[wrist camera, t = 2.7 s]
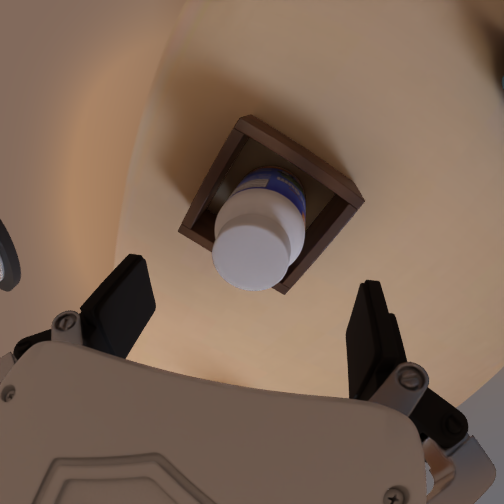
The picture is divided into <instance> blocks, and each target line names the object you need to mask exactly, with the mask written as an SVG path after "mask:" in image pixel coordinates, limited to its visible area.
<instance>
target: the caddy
mask: <svg viewBox="0 0 504 504" xmlns="http://www.w3.org/2000/svg"><path fill="white" fill-rule="evenodd" d="M249 137H250V138H252V139H254V140H255V141H257V142H259V143H260V144H262V145H264V146H265V147H267V148H268V149H270V150H272V151H273V152H275V153H276V154H278V155H280V156H281V157H283V158H284V159H286V160H287V161H289V162H291V163H292V164H294V165H295V166H297V167H298V168H300V169H301V170H303V171H304V172H306V173H307V174H309V175H310V176H312V177H313V178H315V179H316V180H317V181H319V182H320V183H322V184H323V185H325V186H326V187H327V188H329V189H330V190H332V191H333V192H335V193H336V194H335V195H334V197H333V198H332V199H331V201H330V202H329V203H328V204H327V206H326V207H325V208H324V210H323V211H322V212H321V213H320V215H319V216H318V217H317V218H316V220H315V221H314V222H313V224H312V225H311V226H310V227H309V229H308V230H307V231H306V232H305V238H304V244H303V248H302V250H301V252H300V254H299V256H298V257H297V259H296V260H295V261H294V262H293V263H292V264H291V265H290V266H288V269H287V272H286V274H285V276H284V277H283V279H282V280H281V281H280V282H279V283H277V284H276V285H274V286H273V287H272V288H273V289H275V290H277V291H279V292H280V293H282V294H284V295H285V294H286V293H287V292H288V291H289V290H290V288H291V287H292V286H293V285H294V284H295V283H296V282H297V281H298V280H299V278H300V277H301V276H302V275H303V274H304V273H305V272H306V271H307V269H308V268H309V267H310V266H311V265H312V264H313V263H314V261H315V260H316V259H317V258H318V257H319V256H320V255H321V253H322V252H323V251H324V250H325V249H326V248H327V246H328V245H329V244H330V243H331V242H332V241H333V239H334V238H335V237H336V236H337V235H338V233H339V232H340V231H341V230H342V229H343V228H344V226H345V225H346V224H347V223H348V222H349V220H350V219H351V218H352V217H353V215H354V214H355V213H356V212H357V211H358V210H357V209H359V208H360V207H361V206H362V204H363V203H364V202H365V200H364V198H363V197H362V195H361V193H360V191H359V190H358V188H357V186H356V184H355V183H354V182H352V181H351V180H350V179H348V178H347V177H346V176H344V175H343V174H342V173H340V172H339V171H337V170H336V169H335V168H333V167H332V166H330V165H329V164H328V163H326V162H325V161H323V160H322V159H320V158H319V157H318V156H316V155H315V154H313V153H312V152H310V151H309V150H307V149H306V148H304V147H303V146H301V145H300V144H298V143H297V142H295V141H294V140H292V139H290V138H289V137H287V136H286V135H284V134H283V133H281V132H279V131H278V130H276V129H274V128H273V127H271V126H270V125H268V124H266V123H265V122H263V121H261V120H259V119H258V118H256V117H254V116H253V115H248V116H244V117H241V118H239V120H238V122H237V123H236V125H235V127H234V128H233V130H232V132H231V133H230V135H229V137H228V138H227V140H226V142H225V143H224V145H223V147H222V149H221V150H220V152H219V154H218V156H217V158H216V159H215V161H214V163H213V165H212V166H211V168H210V170H209V172H208V174H207V176H206V177H205V179H204V181H203V183H202V185H201V187H200V189H199V191H198V192H197V194H196V196H195V198H194V200H193V202H192V204H191V206H190V208H189V210H188V212H187V214H186V216H185V218H184V220H183V222H182V224H181V226H180V228H179V230H178V232H179V233H181V234H183V235H184V236H186V237H187V238H189V239H191V240H192V241H194V242H196V243H197V244H199V245H201V246H202V247H204V248H206V249H207V250H209V251H211V252H212V248H213V244H214V242H215V240H216V239H215V230H214V229H215V221H216V218H217V215H215V214H213V213H212V212H210V211H209V210H207V208H208V206H209V204H210V202H211V200H212V199H213V197H214V195H215V193H216V192H217V190H218V188H219V186H220V185H221V183H222V181H223V179H224V178H225V176H226V174H227V173H228V171H229V169H230V167H231V166H232V164H233V162H234V161H235V159H236V157H237V156H238V154H239V152H240V151H241V149H242V147H243V146H244V144H245V143H246V141H247V139H248V138H249Z"/></svg>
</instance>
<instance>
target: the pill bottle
mask: <svg viewBox="0 0 504 504" xmlns="http://www.w3.org/2000/svg"><path fill="white" fill-rule="evenodd" d="M305 213H306V197H305V192H304V188H303V186H302V184H301V182H300V181H299V179H298V178H297V177H296V176H295V175H294V174H293V173H291V172H290V171H288V170H286V169H284V168H281V167H277V166H264V167H260V168H257V169H255V170H253V171H251V172H250V173H249V174H247V175H246V176H245V177H244V178H243V179H242V181H241V182H240V183H239V185H238V186H237V187H236V189H235V190H234V191H233V193H232V194H231V195H230V197H229V198H228V199H227V201H226V202H225V203H224V205H223V206H222V208H221V209H220V211H219V213H218V215H217V218H216V221H215V229H214V230H215V239H216V240H215V242H214V244H213V248H212V258H213V263H214V265H215V268H216V269H217V271H218V273H219V274H220V275H221V277H222V278H223V279H224V280H226V281H227V282H228V283H230V284H231V285H233V286H235V287H237V288H240V289H243V290H249V291H260V290H265V289H268V288H271V287H273V286H274V285H276V284H277V283H279V282H280V281H281V280H282V279H283V277H284V276H285V274H286V272H287V269H288V266H290V265H291V264H292V263H293V262H294V261H295V260H296V259H297V257H298V256H299V254H300V252H301V250H302V248H303V244H304V238H305Z"/></svg>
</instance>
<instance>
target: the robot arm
mask: <svg viewBox="0 0 504 504" xmlns="http://www.w3.org/2000/svg"><path fill="white" fill-rule="evenodd" d="M3 278H4V265H3V262H2V258H1V256H0V281H1V280H2V279H3ZM155 308H156V303H155V299H154V295H153V291H152V287H151V282H150V278H149V273H148V269H147V264H146V260H145V259H143V257H142V256H141V255H136V254H129V255H128V256H127V257H126V258H125V259H124V260H123V261H122V262H121V263H120V264H119V265H118V266H117V267H116V268H115V269H114V270H113V271H112V273H111V274H110V275H109V276H108V277H107V278H106V279H105V280H104V281H103V282H102V283H101V285H100V286H99V287H98V288H97V289H96V290H95V291H94V292H93V293H92V295H91V296H90V297H89V298H88V299H87V300H86V302H85V303H84V304H83V305H82V306H81V307H80V309H81V313H80V314H78V313H77V312H75V311H65V312H62V313H60V314H59V315H57V316H56V317H55V319H54V320H53V322H52V329H49V330H46V331H44V332H41V333H38V334H35V335H32V336H29V337H26V338H24V339H22V340H20V341H19V342H18V343H17V344H16V346H15V348H14V353H13V354H12V353H11V352H10V353H8V354H6V355H5V356H3V357H2V358H0V504H474V503H475V502H476V501H477V500H478V499H479V498H480V497H481V496H482V495H483V494H484V493H485V492H486V491H487V489H488V488H489V487H490V486H491V485H492V483H493V482H494V480H495V477H496V469H495V466H494V464H493V463H492V461H491V460H490V458H489V457H488V456H487V454H486V453H485V451H484V450H483V448H482V447H481V446H480V444H479V443H478V441H477V440H476V439H475V437H474V436H473V435H472V436H471V437H470V436H469V434H468V433H467V432H468V422H467V419H466V417H465V416H464V415H463V414H462V413H461V412H460V411H459V410H457V409H456V408H455V407H454V406H452V405H451V404H450V403H448V402H447V401H445V400H444V399H443V398H441V397H440V396H439V395H437V394H436V393H435V392H433V391H432V390H431V389H429V388H428V384H429V377H428V374H427V372H426V371H425V369H424V368H422V367H421V366H420V365H418V364H416V363H413V362H407V359H406V355H405V350H404V346H403V342H402V339H401V335H400V331H399V327H398V324H397V320H396V317H395V315H394V314H393V313H389V312H388V308H387V305H386V301H385V298H384V294H383V291H382V288H381V284H380V282H379V281H373V280H366V281H365V283H361V284H360V287H359V290H358V294H357V297H356V301H355V304H354V308H353V311H352V314H351V317H350V321H349V324H348V327H347V330H346V346H347V361H348V379H349V399H348V398H338V397H326V396H315V395H304V394H295V393H286V392H278V391H270V390H263V389H256V388H249V387H243V386H237V385H231V384H226V383H220V382H215V381H210V380H205V379H200V378H196V377H191V376H187V375H183V374H178V373H174V372H170V371H166V370H162V369H158V368H155V367H151V366H147V365H144V364H140V363H137V362H133V361H130V360H126V357H127V355H128V354H129V352H130V350H131V349H132V347H133V345H134V344H135V342H136V340H137V339H138V337H139V336H140V334H141V332H142V331H143V329H144V327H145V326H146V324H147V323H148V321H149V319H150V318H151V316H152V315H153V313H154V311H155ZM425 462H427V463H428V465H429V466H430V468H431V469H430V470H429V471H430V472H431V474H432V476H433V478H434V487H433V489H432V491H431V492H430V493H429V494H428V495H427V496H426V471H425ZM388 489H389V490H388Z"/></svg>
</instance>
